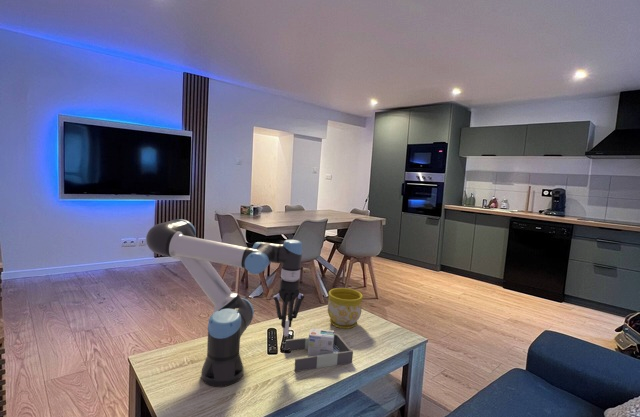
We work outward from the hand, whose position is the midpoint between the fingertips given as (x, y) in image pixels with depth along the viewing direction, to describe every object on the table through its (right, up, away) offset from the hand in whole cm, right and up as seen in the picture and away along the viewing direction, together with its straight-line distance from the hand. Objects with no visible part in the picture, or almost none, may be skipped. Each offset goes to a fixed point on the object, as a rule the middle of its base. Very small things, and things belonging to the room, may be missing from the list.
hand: (285, 334), depth 135 cm
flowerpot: (+26, -10, +40) cm, 49 cm away
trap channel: (+13, -12, +6) cm, 19 cm away
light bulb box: (+14, -12, +7) cm, 20 cm away
